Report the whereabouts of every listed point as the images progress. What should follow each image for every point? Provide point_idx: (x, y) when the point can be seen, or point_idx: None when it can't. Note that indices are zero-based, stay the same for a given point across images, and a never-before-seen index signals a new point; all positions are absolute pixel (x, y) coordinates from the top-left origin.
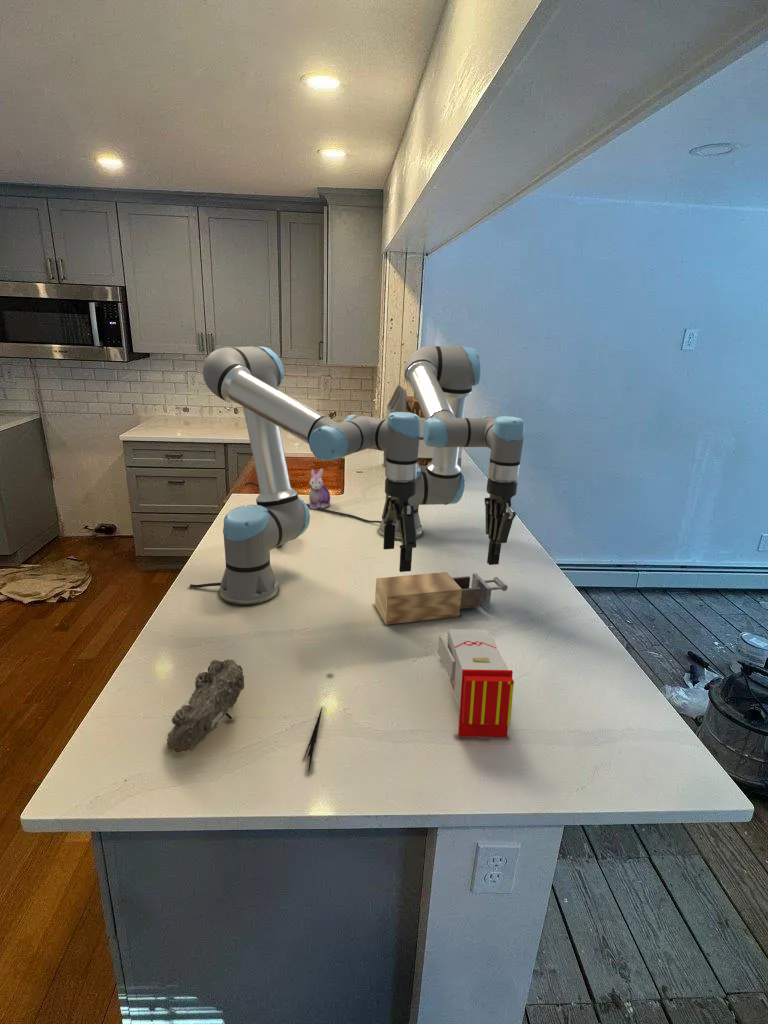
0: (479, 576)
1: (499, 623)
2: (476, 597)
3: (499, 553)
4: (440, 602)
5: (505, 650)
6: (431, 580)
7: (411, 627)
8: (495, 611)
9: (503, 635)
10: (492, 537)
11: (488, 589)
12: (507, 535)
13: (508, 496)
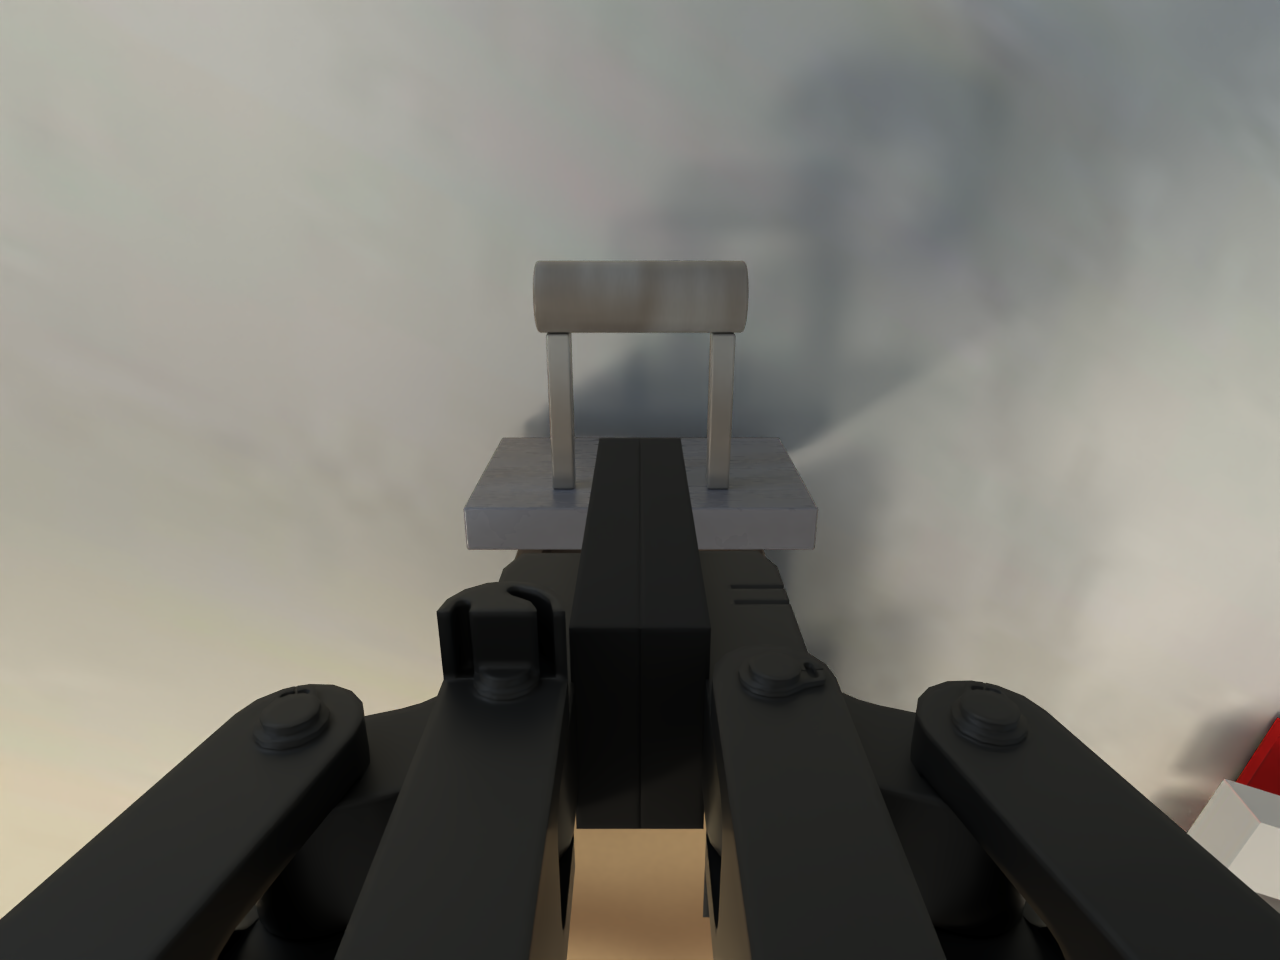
0: (545, 513)
1: (954, 428)
2: None
3: (767, 568)
4: None
5: (1255, 543)
6: (607, 957)
7: None
8: (786, 375)
9: (1102, 474)
10: (572, 831)
11: (813, 534)
12: (1258, 941)
13: None
